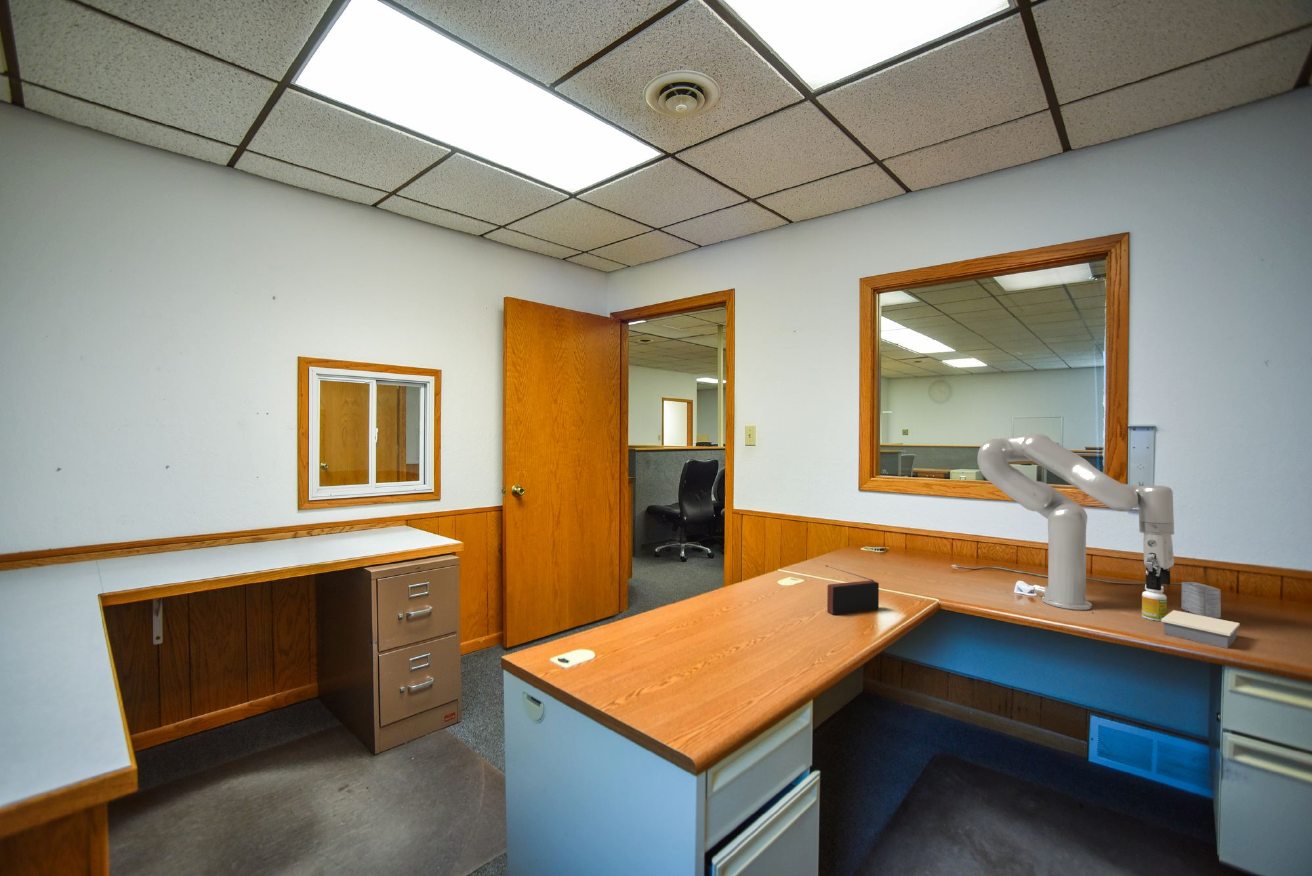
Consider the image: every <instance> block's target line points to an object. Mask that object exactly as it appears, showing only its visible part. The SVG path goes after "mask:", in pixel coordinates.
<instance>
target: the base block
mask: <svg viewBox="0 0 1312 876" xmlns="http://www.w3.org/2000/svg"><path fill="white" fill-rule="evenodd" d="M1160 622H1162V623H1163V634H1164V635H1166V634H1168V635H1167V636H1170V635H1171V636H1172V637H1175V636H1177V637H1176V638H1179V637H1183V638H1185V640H1188V639H1191V640H1190V641H1192V640H1193V641H1192V642H1197V641H1198V643H1201V644H1205V643H1206V645H1210V646H1211V645H1212V646H1215V647H1220V648H1222V649H1223V648H1224V649H1228V648H1229V647H1230V646H1231V645H1232V644H1233V643H1234V641H1235V640H1237V632H1238V631H1237V629H1238V628H1239V627H1240V626H1241V625H1240V624H1241V623H1240V622H1235V621H1229V620H1224V619H1222V618H1221V619H1220V618H1211V617H1206V616H1201V615H1197V614H1194V613H1191V612H1187V611H1180V610H1175V609H1173V610H1172V611H1170V612H1169V613H1168V614H1167V615H1166V616H1165V617H1164V618H1162V619H1161V621H1160ZM1171 636H1170V637H1171ZM1183 638H1182V639H1183Z"/></svg>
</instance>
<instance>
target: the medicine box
mask: <svg viewBox="0 0 1312 876" xmlns="http://www.w3.org/2000/svg"><path fill="white" fill-rule="evenodd" d="M1221 595H1222V594H1221V589H1220V588H1217V587H1214V586H1211V585H1207V584H1203V583H1200V582H1195V581H1184V582H1181V599H1180V600H1181V603H1180V605H1181V606H1180V607H1181V610H1182V609H1183V610H1182V611H1184V612H1188V611H1189V612H1188V613H1191V614H1196V615H1201V616H1206V617H1211V618H1216V619H1220V618H1221V619H1222V616H1221V615H1222V614H1221V613H1222V612H1221V610H1222V609H1221V602H1222V601H1221V599H1222V597H1221Z"/></svg>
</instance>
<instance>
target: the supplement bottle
mask: <svg viewBox="0 0 1312 876" xmlns="http://www.w3.org/2000/svg"><path fill="white" fill-rule="evenodd" d="M1144 585H1145V586H1144V590H1145V591H1143V592H1142V594H1141V617H1142V618H1143V619H1146V618H1147V619H1146V620H1149V621H1153V620H1156V621H1155V622H1161V619H1162V618H1164V617H1165V616H1166V615H1168V614H1167V612H1168V611H1167V609H1168V608H1167V607H1168V604H1167V603H1168V600H1167V599H1168V597H1167V595H1166V594H1164V586H1163V585H1161V590H1160V591H1159V590H1152V589H1147V588H1146V583H1145V584H1144Z"/></svg>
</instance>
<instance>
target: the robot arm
mask: <svg viewBox="0 0 1312 876" xmlns="http://www.w3.org/2000/svg"><path fill="white" fill-rule="evenodd" d="M976 459H977V461H976V462H977V465H978V468H979V471H980V472H981V473H980V474H982V475H983V476H984V478H985V479H986V480H987V481H988V482H989V483H990V484H992V485H993V486H994V487H996V488H998V489H999V490H1000V491H1001V492H1003V493H1004V494H1005V495H1006V496H1008V497H1010V498H1011V499H1012V500H1014V501H1015V502H1016V503H1018V504H1019V505H1021V506H1022V507H1023V508H1024V509H1025V510H1027V511H1031V512H1037V513H1038V514H1040V515H1041V516H1042V517H1044V518H1046V519H1047V534H1048V537H1047V538H1048V547H1047V548H1048V549H1047V551H1048V567H1047V568H1048V569H1047V571H1048V573H1047V574H1048V575H1047V576H1048V577H1047V583H1048V584H1047V585H1045V586H1042V585H1040V584H1039V585H1038V584H1034V585H1033V591H1035V592H1036V593H1040V594H1041V593H1042V594H1043V595H1042V597H1041V600H1042V602H1044V603H1046V604H1047V605H1050V606H1053V607H1058V608H1062V609H1065V610H1066V609H1067V610H1073V611H1074V610H1075V611H1076V610H1077V611H1087V610H1090V609H1092V608H1093V605H1092V603H1091V602H1090V601H1088V600H1086V582H1087V581H1086V577H1087V575H1086V574H1087V569H1086V567H1087V566H1086V565H1087V524H1088V514H1087V511H1086V510H1085V509H1084V507H1082V506H1081V505H1080V504H1079V503H1077V502H1075V501H1074V500H1072V499H1071V498H1070V497H1068V496H1066V495H1065V494H1064V493H1062V492H1060V491H1059V490H1058V489H1056V488H1054V487H1053V486H1051V485H1049V484H1047V483H1046V482H1043V481H1039V480H1033V479H1032V478H1031V477H1029V476H1027V475H1025V473H1023V472H1022V471H1020V470H1019V469H1017V468H1015V467H1013V465H1011V464H1010V463H1012V462H1023V461H1031V462H1034V463H1035V464H1037V465H1038V466H1041V467H1043V468H1044V469H1046V470H1048V471H1049V472H1050V473H1052V474H1053V475H1056V476H1057V477H1059V478H1061V479H1062V480H1064V481H1065V482H1066V483H1068V484H1069V485H1071V486H1073V487H1075V488H1077V489H1079V490H1080V491H1082V492H1083V493H1085V494H1087V495H1088V496H1090V497H1091V498H1093V499H1094V500H1096V501H1098V502H1099V503H1101V504H1103V505H1104V506H1106V507H1108V508H1110V509H1111V510H1113V511H1114V510H1115V511H1118V512H1128V511H1131V510H1132V509H1134V508H1136V509H1138V523H1139V525H1138V526H1139V529H1138V530H1139V531H1138V532H1139V533H1142V534H1143V539H1142V540H1143V563H1144V566H1145V584H1146V588H1147V589H1152V590H1159V591H1160V590H1161V586H1162V585H1171V571H1170V570H1171V569H1170V568H1172V567H1173V566H1174V564H1175V559H1174V558H1175V557H1174V547H1173V546H1174V545H1173V539H1172V535H1175V520H1174V519H1175V517H1174V515H1175V514H1174V496H1173V494H1174V493H1173V490H1172V488H1171V487H1169V486H1166V485H1136V484H1135V485H1133V484H1127V483H1121V482H1119V481H1118V480H1116V479H1114V478H1112V477H1111V476H1109V475H1107V474H1105V473H1104V472H1102V471H1100V470H1099V469H1098V468H1096V467H1095V466H1093V464H1092V463H1090V462H1089V461H1088V460H1086V459H1085V458H1084V457H1082V456H1080V455H1079V454H1076V453H1075V452H1073V451H1071V450H1069V449H1067V448H1066V447H1065V446H1062V445H1060V444H1059V443H1057V442H1056V441H1053V440H1052V439H1051V438H1050V437H1049V436H1047V435H1045V434H1042V433H1033V434H1029V435H1023V436H1015V437H1014V436H1013V437H1005V438H1004V437H1003V438H993V439H989V440H986V441H985V442H983V443H982V444H981V445H980V447H979V450H978V452H977V458H976Z"/></svg>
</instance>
